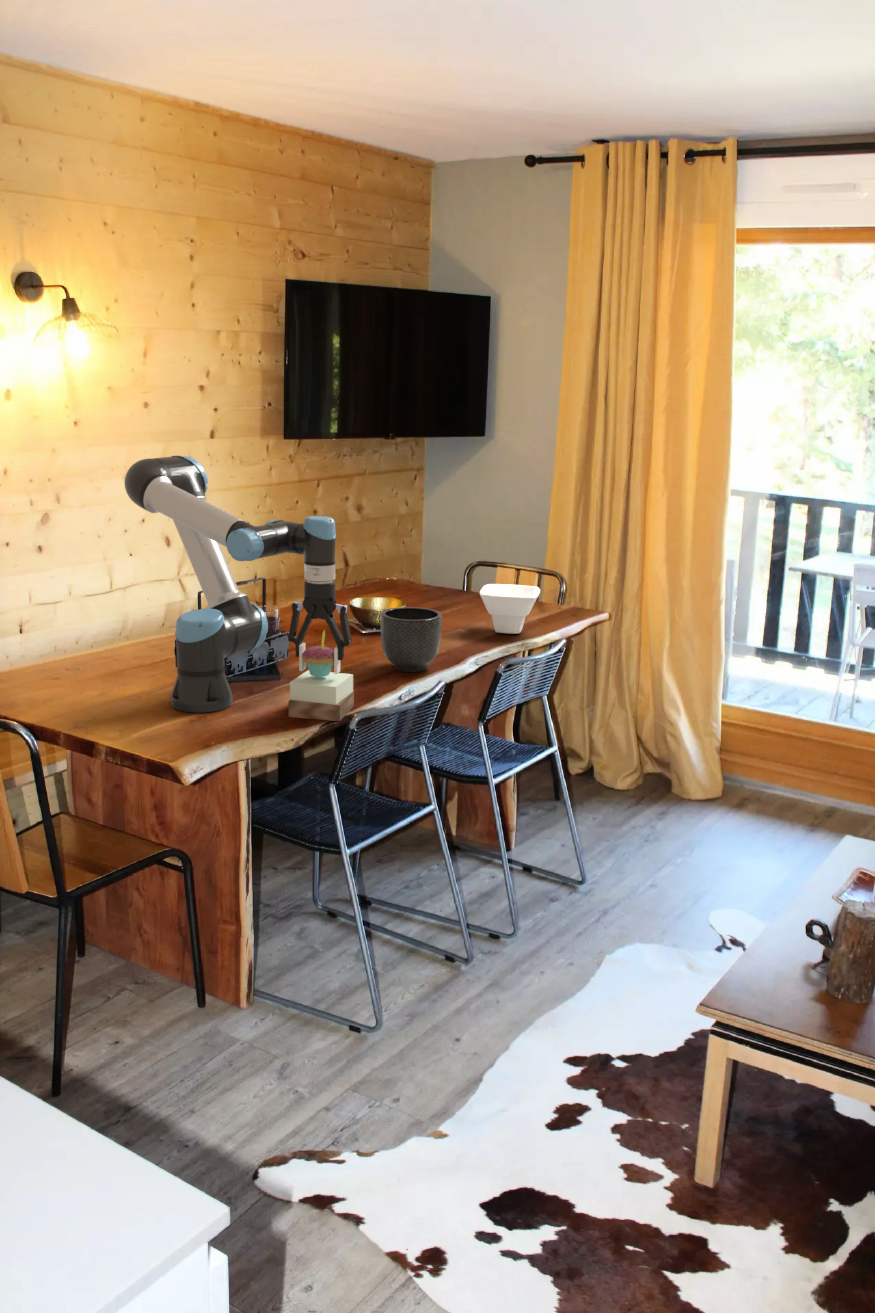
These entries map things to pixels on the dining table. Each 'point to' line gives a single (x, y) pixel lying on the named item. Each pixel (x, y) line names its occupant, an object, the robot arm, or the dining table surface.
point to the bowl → (509, 605)
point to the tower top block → (321, 688)
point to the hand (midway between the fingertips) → (319, 671)
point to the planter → (411, 637)
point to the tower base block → (321, 709)
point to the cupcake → (319, 659)
